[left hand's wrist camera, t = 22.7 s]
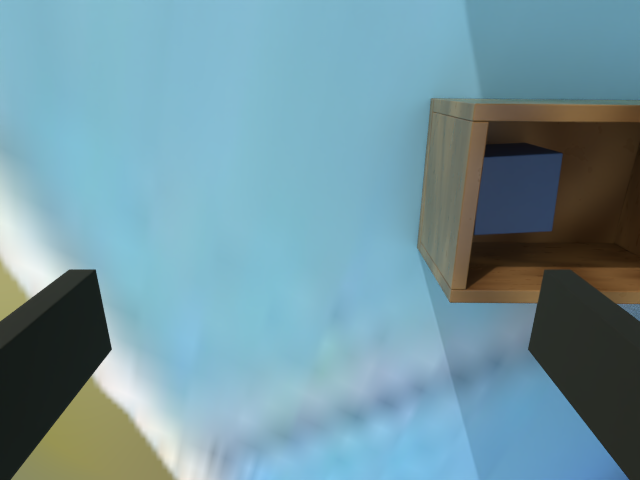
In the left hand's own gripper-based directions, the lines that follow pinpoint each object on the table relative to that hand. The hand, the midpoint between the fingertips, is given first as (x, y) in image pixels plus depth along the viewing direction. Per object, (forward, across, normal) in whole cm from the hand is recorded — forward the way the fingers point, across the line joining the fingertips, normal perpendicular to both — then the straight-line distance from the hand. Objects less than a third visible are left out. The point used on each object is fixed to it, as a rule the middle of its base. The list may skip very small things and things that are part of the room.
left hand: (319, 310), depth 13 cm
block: (+19, +12, 0) cm, 22 cm away
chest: (+20, +15, 0) cm, 25 cm away
